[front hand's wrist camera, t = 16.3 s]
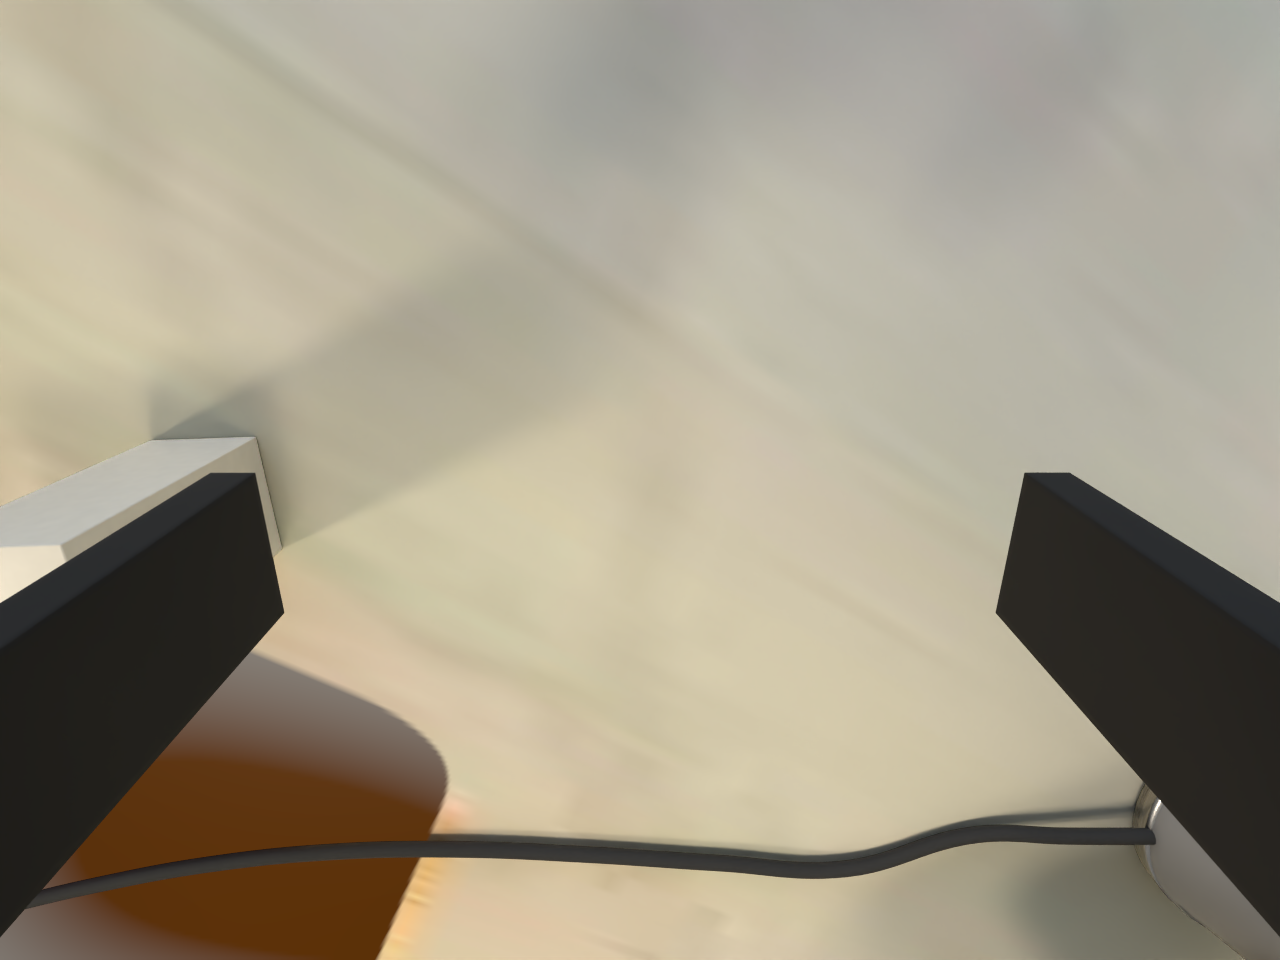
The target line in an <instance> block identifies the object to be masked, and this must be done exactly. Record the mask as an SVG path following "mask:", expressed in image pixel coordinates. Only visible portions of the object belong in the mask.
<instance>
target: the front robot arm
mask: <svg viewBox="0 0 1280 960" xmlns="http://www.w3.org/2000/svg"><path fill="white" fill-rule="evenodd" d="M283 614H284V609H283V604H282V599H281V594H280V589H279V585H278V580H277V575H276V570H275V565H274V560H273V556H272V551H271V546H270V541H269V536H268V531H267V527H266V522H265V517H264V512H263V507H262V503H261V498H260V493H259V488H258V483H257V478H256V474H255V473H209V474H208V475H206V476H204V477H203V478H201V479H200V480H198V481H196V482H195V483H193V484H191V485H190V486H188V487H187V488H185V489H183V490H182V491H180V492H179V493H177V494H175V495H174V496H172V497H170V498H169V499H167V500H166V501H164V502H162V503H161V504H159V505H158V506H156V507H154V508H153V509H151V510H149V511H148V512H146V513H145V514H143V515H141V516H140V517H138V518H137V519H135V520H133V521H132V522H130V523H128V524H127V525H125V526H124V527H122V528H120V529H119V530H117V531H116V532H114V533H112V534H111V535H109V536H107V537H106V538H104V539H103V540H101V541H99V542H98V543H96V544H95V545H93V546H91V547H90V548H88V549H87V550H85V551H83V552H82V553H80V554H78V555H77V556H75V557H74V558H72V559H70V560H69V561H67V562H66V563H64V564H62V565H61V566H59V567H57V568H56V569H54V570H53V571H51V572H49V573H48V574H46V575H45V576H43V577H41V578H40V579H38V580H36V581H35V582H33V583H32V584H30V585H28V586H27V587H25V588H24V589H22V590H20V591H19V592H17V593H15V594H14V595H12V596H11V597H9V598H7V599H6V600H4V601H3V602H1V603H0V937H1V936H2V935H3V933H4V932H5V931H6V930H7V929H8V928H9V927H10V925H11V924H12V923H13V922H14V921H15V920H16V919H17V917H18V916H19V915H20V914H21V913H22V912H23V911H24V909H28V908H32V907H36V906H40V905H44V904H48V903H53V902H57V901H61V900H65V899H70V898H74V897H79V896H84V895H88V894H93V893H98V892H103V891H107V890H112V889H117V888H122V887H127V886H131V885H137V884H142V883H147V882H152V881H158V880H163V879H169V878H175V877H181V876H188V875H194V874H201V873H208V872H215V871H222V870H230V869H237V868H245V867H254V866H262V865H272V864H283V863H295V862H308V861H323V860H340V859H360V858H395V857H451V858H500V859H525V860H545V861H563V862H582V863H600V864H617V865H632V866H647V867H661V868H675V869H690V870H706V871H723V872H736V873H747V874H756V875H765V876H775V877H786V878H801V879H826V878H842V877H851V876H858V875H864V874H869V873H874V872H878V871H881V870H885V869H888V868H892V867H895V866H898V865H901V864H904V863H906V862H909V861H912V860H915V859H918V858H920V857H923V856H926V855H929V854H932V853H935V852H939V851H942V850H945V849H949V848H953V847H957V846H962V845H968V844H975V843H983V842H1000V841H1009V842H1028V843H1043V844H1066V845H1135V849H1136V852H1137V854H1138V857H1139V859H1140V861H1141V863H1142V864H1143V866H1144V867H1145V869H1146V870H1147V872H1148V873H1149V874H1150V875H1151V877H1152V878H1153V879H1154V881H1155V882H1156V883H1157V885H1158V886H1159V887H1160V889H1161V890H1162V891H1163V892H1164V893H1165V895H1166V896H1167V897H1168V898H1169V899H1170V900H1171V901H1172V902H1174V903H1175V904H1176V905H1177V906H1178V907H1179V908H1180V909H1181V910H1182V911H1183V912H1184V913H1185V914H1186V915H1188V916H1189V917H1190V918H1192V919H1193V920H1195V921H1197V922H1198V923H1200V924H1201V925H1203V926H1204V927H1206V928H1207V929H1209V930H1210V931H1211V932H1212V933H1213V934H1215V935H1216V936H1217V937H1218V938H1220V939H1221V940H1222V941H1223V942H1224V943H1226V944H1227V945H1228V946H1229V947H1231V948H1232V949H1233V950H1235V951H1236V952H1237V953H1238V954H1240V955H1241V956H1242V957H1243V958H1245V959H1246V960H1280V603H1279V602H1277V601H1276V600H1274V599H1273V598H1271V597H1269V596H1268V595H1266V594H1265V593H1263V592H1261V591H1260V590H1258V589H1256V588H1255V587H1253V586H1252V585H1250V584H1248V583H1247V582H1245V581H1244V580H1242V579H1240V578H1239V577H1237V576H1235V575H1234V574H1232V573H1231V572H1229V571H1227V570H1226V569H1224V568H1223V567H1221V566H1219V565H1218V564H1216V563H1214V562H1213V561H1211V560H1210V559H1208V558H1206V557H1205V556H1203V555H1202V554H1200V553H1198V552H1197V551H1195V550H1193V549H1192V548H1190V547H1189V546H1187V545H1185V544H1184V543H1182V542H1181V541H1179V540H1177V539H1176V538H1174V537H1172V536H1171V535H1169V534H1168V533H1166V532H1164V531H1163V530H1161V529H1160V528H1158V527H1156V526H1155V525H1153V524H1152V523H1150V522H1148V521H1147V520H1145V519H1143V518H1142V517H1140V516H1139V515H1137V514H1135V513H1134V512H1132V511H1131V510H1129V509H1127V508H1126V507H1124V506H1122V505H1121V504H1119V503H1118V502H1116V501H1114V500H1113V499H1111V498H1110V497H1108V496H1106V495H1105V494H1103V493H1101V492H1100V491H1098V490H1097V489H1095V488H1093V487H1092V486H1090V485H1089V484H1087V483H1085V482H1084V481H1082V480H1080V479H1079V478H1077V477H1076V476H1074V475H1072V474H1071V473H1025V474H1024V478H1023V483H1022V488H1021V493H1020V498H1019V502H1018V507H1017V512H1016V517H1015V522H1014V527H1013V531H1012V536H1011V541H1010V546H1009V551H1008V556H1007V560H1006V565H1005V570H1004V575H1003V580H1002V585H1001V589H1000V594H999V599H998V604H997V609H996V614H997V615H998V616H999V617H1000V618H1001V619H1002V621H1003V622H1004V623H1005V624H1006V625H1007V626H1008V627H1009V629H1010V630H1011V631H1012V632H1013V633H1014V634H1015V635H1016V637H1017V638H1018V639H1019V640H1020V641H1021V642H1022V643H1023V645H1024V646H1025V647H1026V648H1027V649H1028V650H1029V651H1030V653H1031V654H1032V655H1033V656H1034V657H1035V658H1036V659H1037V661H1038V662H1039V663H1040V664H1041V665H1042V666H1043V667H1044V669H1045V670H1046V671H1047V672H1048V673H1049V674H1050V675H1051V677H1052V678H1053V679H1054V680H1055V681H1056V682H1057V683H1058V684H1059V686H1060V687H1061V688H1062V689H1063V690H1064V691H1065V692H1066V694H1067V695H1068V696H1069V697H1070V698H1071V699H1072V700H1073V702H1074V703H1075V704H1076V705H1077V706H1078V707H1079V708H1080V710H1081V711H1082V712H1083V713H1084V714H1085V715H1086V716H1087V718H1088V719H1089V720H1090V721H1091V722H1092V723H1093V724H1094V726H1095V727H1096V728H1097V729H1098V730H1099V731H1100V732H1101V734H1102V735H1103V736H1104V737H1105V738H1106V739H1107V740H1108V742H1109V743H1110V744H1111V745H1112V746H1113V747H1114V748H1115V750H1116V751H1117V752H1118V753H1119V754H1120V755H1121V756H1122V758H1123V759H1124V760H1125V761H1126V762H1127V763H1128V764H1129V766H1130V767H1131V768H1132V769H1133V770H1134V771H1135V772H1136V774H1137V775H1138V776H1139V777H1140V778H1141V779H1142V780H1143V782H1144V783H1145V785H1144V787H1143V789H1142V791H1141V793H1140V796H1139V798H1138V801H1137V804H1136V807H1135V811H1134V817H1133V828H1057V827H1037V826H1021V825H984V826H974V827H967V828H960V829H956V830H951V831H947V832H943V833H939V834H935V835H932V836H929V837H926V838H923V839H920V840H917V841H914V842H911V843H909V844H906V845H903V846H900V847H898V848H895V849H892V850H889V851H886V852H883V853H879V854H876V855H872V856H868V857H863V858H858V859H852V860H845V861H834V862H791V861H779V860H769V859H760V858H751V857H741V856H729V855H714V854H697V853H681V852H667V851H653V850H639V849H624V848H608V847H590V846H572V845H553V844H534V843H512V842H479V841H381V842H356V843H337V844H321V845H306V846H294V847H282V848H272V849H263V850H254V851H246V852H238V853H231V854H223V855H216V856H209V857H202V858H195V859H189V860H183V861H177V862H171V863H165V864H160V865H154V866H149V867H144V868H139V869H134V870H129V871H124V872H119V873H114V874H110V875H105V876H100V877H95V878H91V879H86V880H81V881H77V882H72V883H68V884H64V885H60V886H55V887H51V888H47V889H43V888H44V887H45V885H46V884H47V883H48V882H49V881H50V880H51V879H52V877H53V876H54V875H55V874H56V873H57V872H58V871H59V869H60V868H61V867H62V866H63V865H64V864H65V863H66V861H67V860H68V859H69V858H70V857H71V856H72V855H73V853H74V852H75V851H76V850H77V849H78V848H79V847H80V845H81V844H82V843H83V842H84V841H85V840H86V839H87V837H88V836H89V835H90V834H91V833H92V832H93V831H94V829H95V828H96V827H97V826H98V825H99V824H100V823H101V821H102V820H103V819H104V818H105V817H106V816H107V815H108V814H109V812H110V811H111V810H112V809H113V808H114V807H115V806H116V804H117V803H118V802H119V801H120V800H121V799H122V797H123V796H124V795H125V794H126V793H127V792H128V791H129V790H130V788H131V787H132V786H133V785H134V784H135V783H136V782H137V780H138V779H139V778H140V777H141V776H142V775H143V774H144V772H145V771H146V770H147V769H148V768H149V767H150V766H151V764H152V763H153V762H154V761H155V760H156V759H157V758H158V756H159V755H160V754H161V753H162V752H163V751H164V750H165V748H166V747H167V746H168V745H169V744H170V743H171V742H172V740H173V739H174V738H175V737H176V736H177V735H178V734H179V732H180V731H181V730H182V729H183V728H184V727H185V726H186V724H187V723H188V722H189V721H190V720H191V719H192V718H193V716H194V715H195V714H196V713H197V712H198V711H199V710H200V708H201V707H202V706H203V705H204V704H205V703H206V702H207V700H208V699H209V698H210V697H211V696H212V695H213V694H214V692H215V691H216V690H217V689H218V688H219V687H220V686H221V684H222V683H223V682H224V681H225V680H226V679H227V678H228V676H229V675H230V674H231V673H232V672H233V671H234V670H235V669H236V667H237V666H238V665H239V664H240V663H241V662H242V660H243V659H244V658H245V657H246V656H247V655H248V654H249V653H250V651H251V650H252V649H253V648H254V647H255V646H256V645H257V643H258V642H259V641H260V640H261V639H262V638H263V637H264V635H265V634H266V633H267V632H268V631H269V630H270V629H271V627H272V626H273V625H274V624H275V623H276V622H277V621H278V619H279V618H280V617H281V616H282V615H283ZM42 889H43V890H42Z"/></svg>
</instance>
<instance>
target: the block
mask: <svg viewBox="0 0 1280 960" xmlns="http://www.w3.org/2000/svg"><path fill="white" fill-rule="evenodd" d="M209 473H255V474H256V478H257V483H258V488H259V493H260V498H261V503H262V507H263V512H264V517H265V522H266V527H267V531H268V536H269V541H270V546H271V551H272V556H273V557H274V556H275V555H276V554H277V553H279V552H280V551H281V550H282V546H281V542H280V537H279V533H278V529H277V525H276V520H275V516H274V512H273V508H272V503H271V499H270V495H269V491H268V486H267V482H266V478H265V474H264V469H263V465H262V461H261V457H260V452H259V448H258V444H257V440H256V437H230V438H201V439H173V440H150V441H147V442H145V443H143V444H141V445H138V446H136V447H134V448H132V449H129V450H127V451H125V452H123V453H120V454H118V455H116V456H114V457H111V458H109V459H107V460H104V461H102V462H100V463H98V464H95V465H93V466H91V467H89V468H86V469H84V470H82V471H80V472H77V473H75V474H73V475H71V476H68V477H66V478H64V479H61V480H59V481H57V482H55V483H52V484H50V485H48V486H46V487H43V488H41V489H39V490H37V491H34V492H32V493H30V494H28V495H25V496H23V497H21V498H18V499H16V500H14V501H12V502H9V503H7V504H5V505H3V506H0V603H1V602H3V601H4V600H6V599H7V598H9V597H11V596H12V595H14V594H15V593H17V592H19V591H20V590H22V589H24V588H25V587H27V586H28V585H30V584H32V583H33V582H35V581H36V580H38V579H40V578H41V577H43V576H45V575H46V574H48V573H49V572H51V571H53V570H54V569H56V568H57V567H59V566H61V565H62V564H64V563H66V562H67V561H69V560H70V559H72V558H74V557H75V556H77V555H78V554H80V553H82V552H83V551H85V550H87V549H88V548H90V547H91V546H93V545H95V544H96V543H98V542H99V541H101V540H103V539H104V538H106V537H107V536H109V535H111V534H112V533H114V532H116V531H117V530H119V529H120V528H122V527H124V526H125V525H127V524H128V523H130V522H132V521H133V520H135V519H137V518H138V517H140V516H141V515H143V514H145V513H146V512H148V511H149V510H151V509H153V508H154V507H156V506H158V505H159V504H161V503H162V502H164V501H166V500H167V499H169V498H170V497H172V496H174V495H175V494H177V493H179V492H180V491H182V490H183V489H185V488H187V487H188V486H190V485H191V484H193V483H195V482H196V481H198V480H200V479H201V478H203V477H204V476H206V475H208V474H209Z"/></svg>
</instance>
